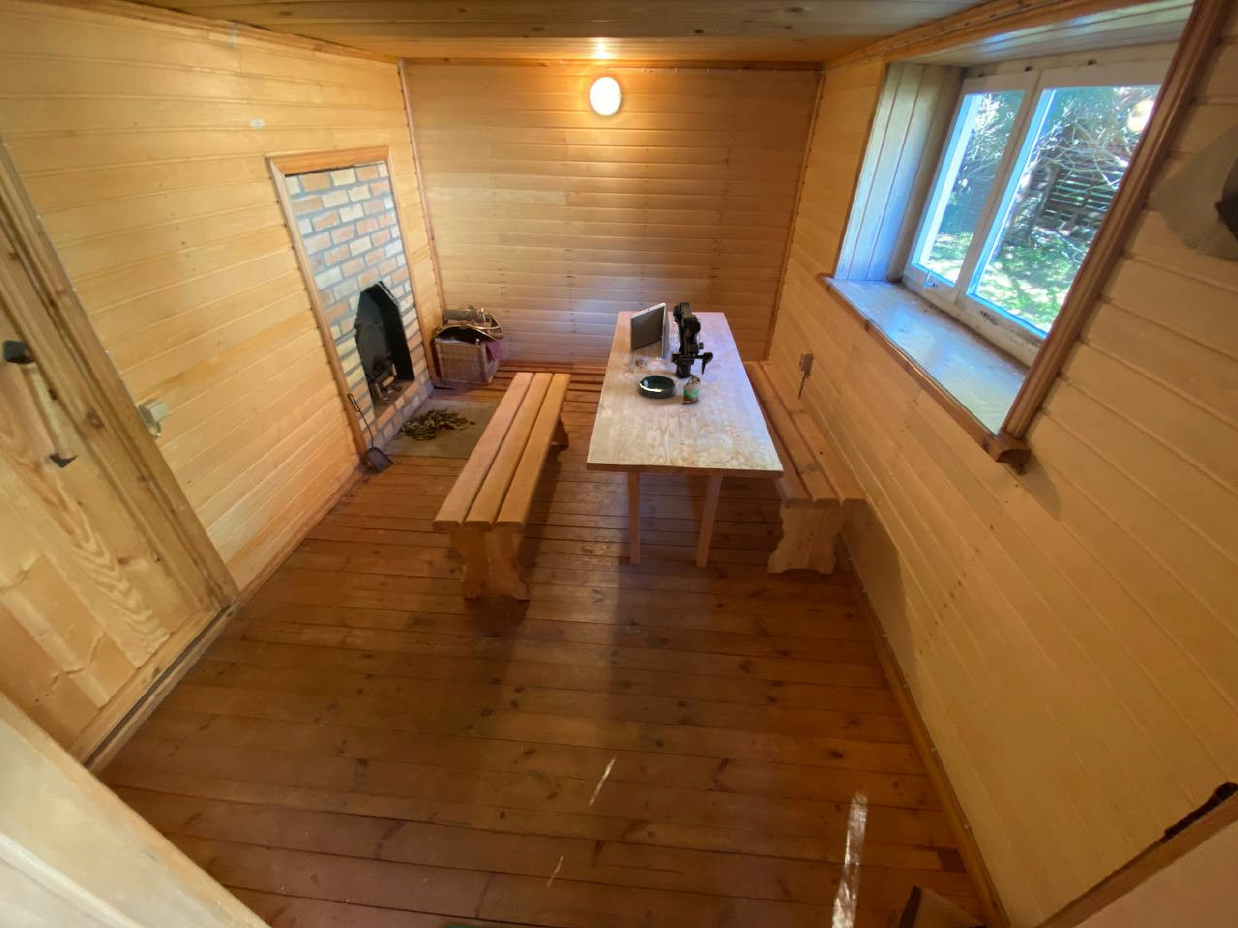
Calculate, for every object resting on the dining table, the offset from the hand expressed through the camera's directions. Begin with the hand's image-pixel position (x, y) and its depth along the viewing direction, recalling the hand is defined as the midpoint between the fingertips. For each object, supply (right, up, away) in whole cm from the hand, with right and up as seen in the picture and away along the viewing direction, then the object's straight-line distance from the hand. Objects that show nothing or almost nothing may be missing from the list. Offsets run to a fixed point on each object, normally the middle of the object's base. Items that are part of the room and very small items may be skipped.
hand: (692, 375), depth 231 cm
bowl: (-15, -5, +10) cm, 19 cm away
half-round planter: (0, -12, +2) cm, 12 cm away
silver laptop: (-16, +26, +56) cm, 64 cm away
